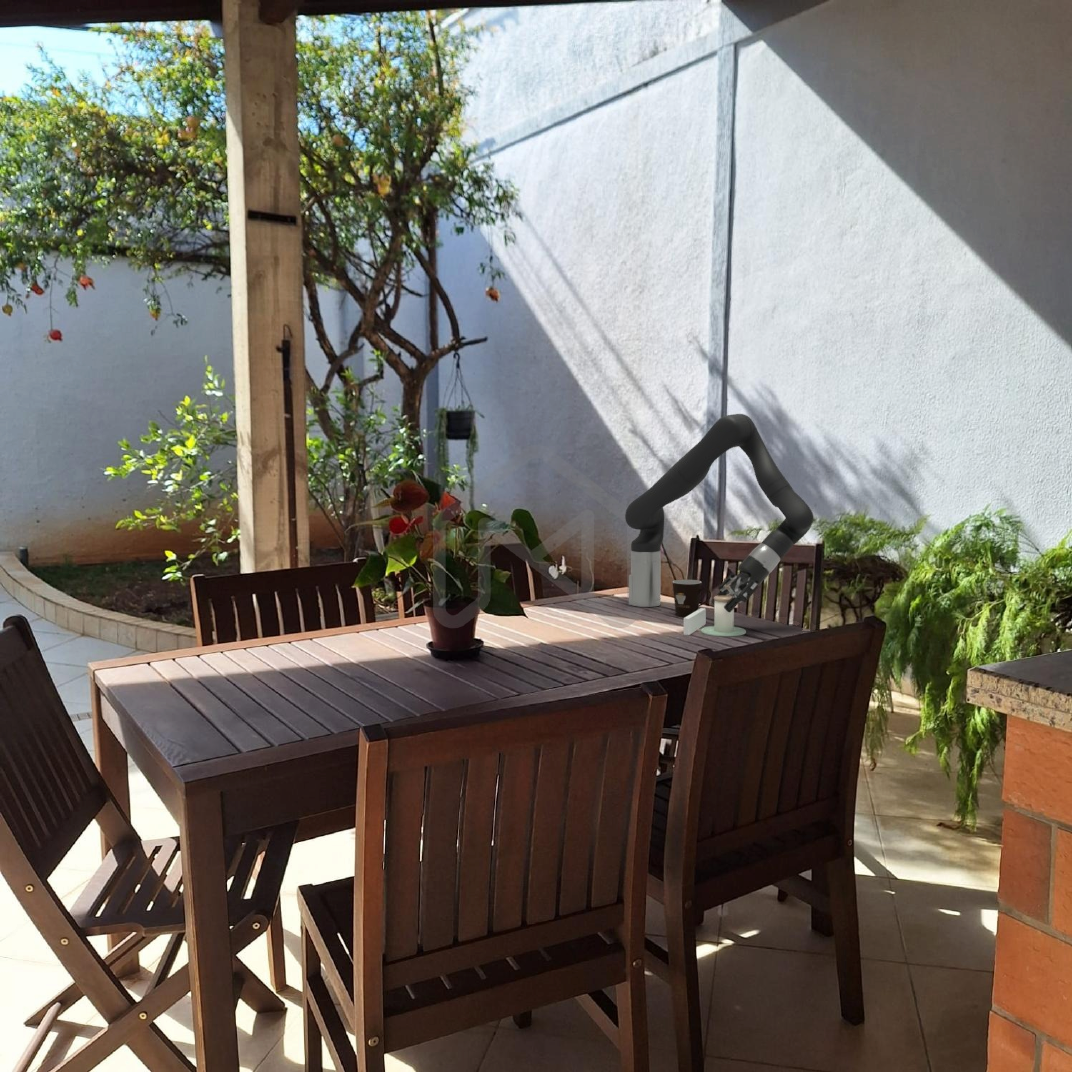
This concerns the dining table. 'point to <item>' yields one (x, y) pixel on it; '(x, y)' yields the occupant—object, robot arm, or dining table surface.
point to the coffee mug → (687, 596)
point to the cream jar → (723, 615)
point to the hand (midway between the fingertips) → (719, 607)
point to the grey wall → (694, 621)
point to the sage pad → (711, 631)
